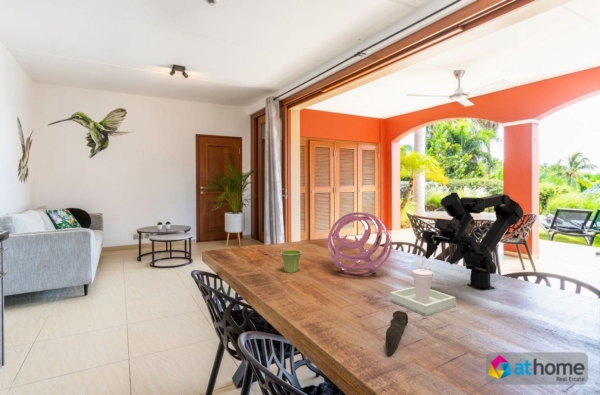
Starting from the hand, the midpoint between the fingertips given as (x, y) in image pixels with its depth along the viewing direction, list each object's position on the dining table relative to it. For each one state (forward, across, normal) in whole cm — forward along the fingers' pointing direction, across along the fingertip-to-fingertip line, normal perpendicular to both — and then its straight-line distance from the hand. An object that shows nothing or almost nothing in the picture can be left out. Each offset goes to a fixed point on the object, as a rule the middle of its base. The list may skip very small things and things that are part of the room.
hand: (438, 260), depth 105 cm
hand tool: (+32, +12, -14) cm, 37 cm away
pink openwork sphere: (+11, -39, +8) cm, 41 cm away
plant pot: (+27, -57, -9) cm, 64 cm away
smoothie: (+14, 0, +3) cm, 15 cm away
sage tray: (+15, 0, +3) cm, 15 cm away
